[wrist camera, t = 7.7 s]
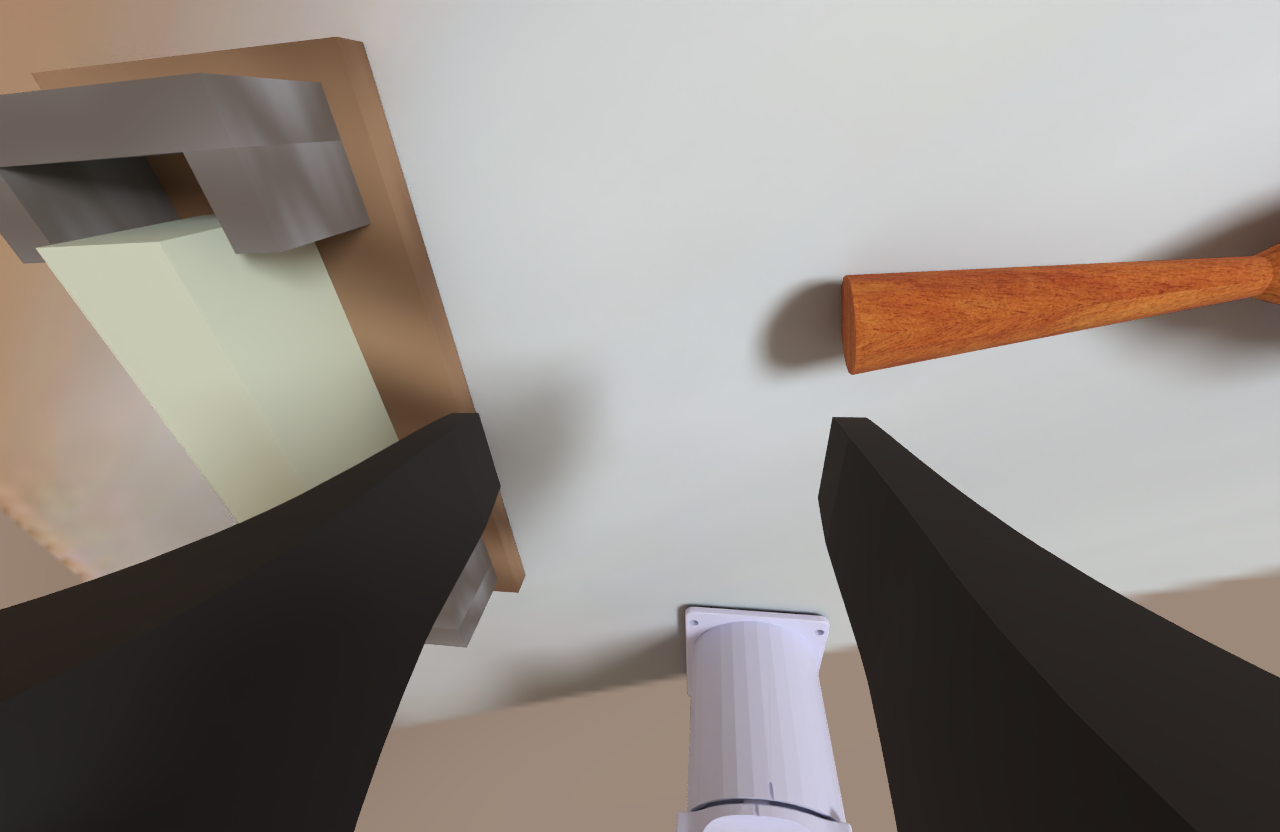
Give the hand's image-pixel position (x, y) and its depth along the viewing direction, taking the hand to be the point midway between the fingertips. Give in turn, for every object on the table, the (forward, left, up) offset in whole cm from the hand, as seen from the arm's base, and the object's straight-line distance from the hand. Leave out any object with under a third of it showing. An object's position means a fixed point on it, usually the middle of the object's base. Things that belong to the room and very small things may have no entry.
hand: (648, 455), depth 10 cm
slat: (-4, +15, -8) cm, 17 cm away
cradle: (-4, +15, -9) cm, 18 cm away
